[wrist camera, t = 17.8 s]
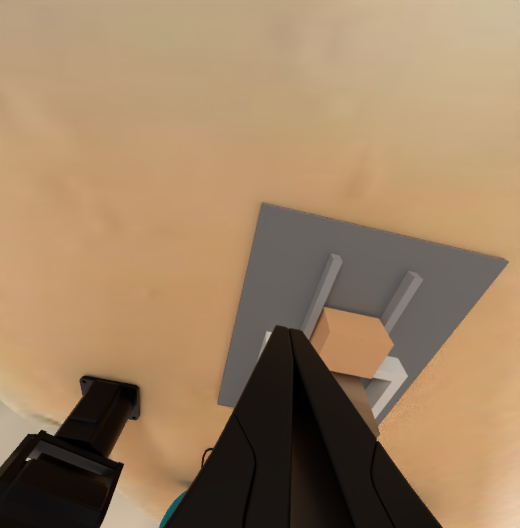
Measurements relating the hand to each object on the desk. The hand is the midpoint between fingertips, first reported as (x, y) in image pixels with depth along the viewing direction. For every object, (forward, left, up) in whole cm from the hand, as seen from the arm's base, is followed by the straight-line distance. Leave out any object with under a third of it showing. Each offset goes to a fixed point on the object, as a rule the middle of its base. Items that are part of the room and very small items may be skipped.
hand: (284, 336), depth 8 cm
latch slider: (-8, -8, -12) cm, 17 cm away
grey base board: (-11, -8, -12) cm, 18 cm away
